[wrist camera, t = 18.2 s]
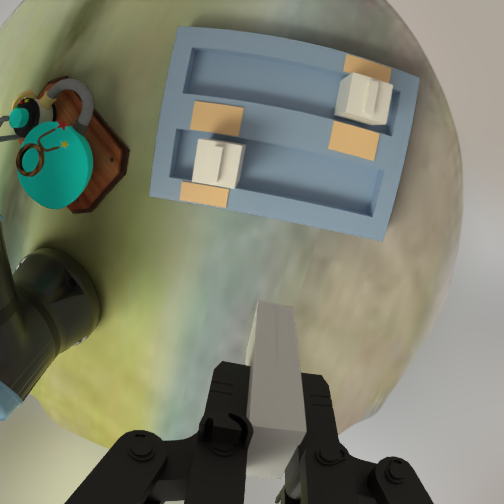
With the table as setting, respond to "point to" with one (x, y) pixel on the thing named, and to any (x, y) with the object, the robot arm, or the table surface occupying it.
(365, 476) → the robot arm
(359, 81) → the tab
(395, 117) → the switch bank
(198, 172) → the tab
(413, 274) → the table surface
